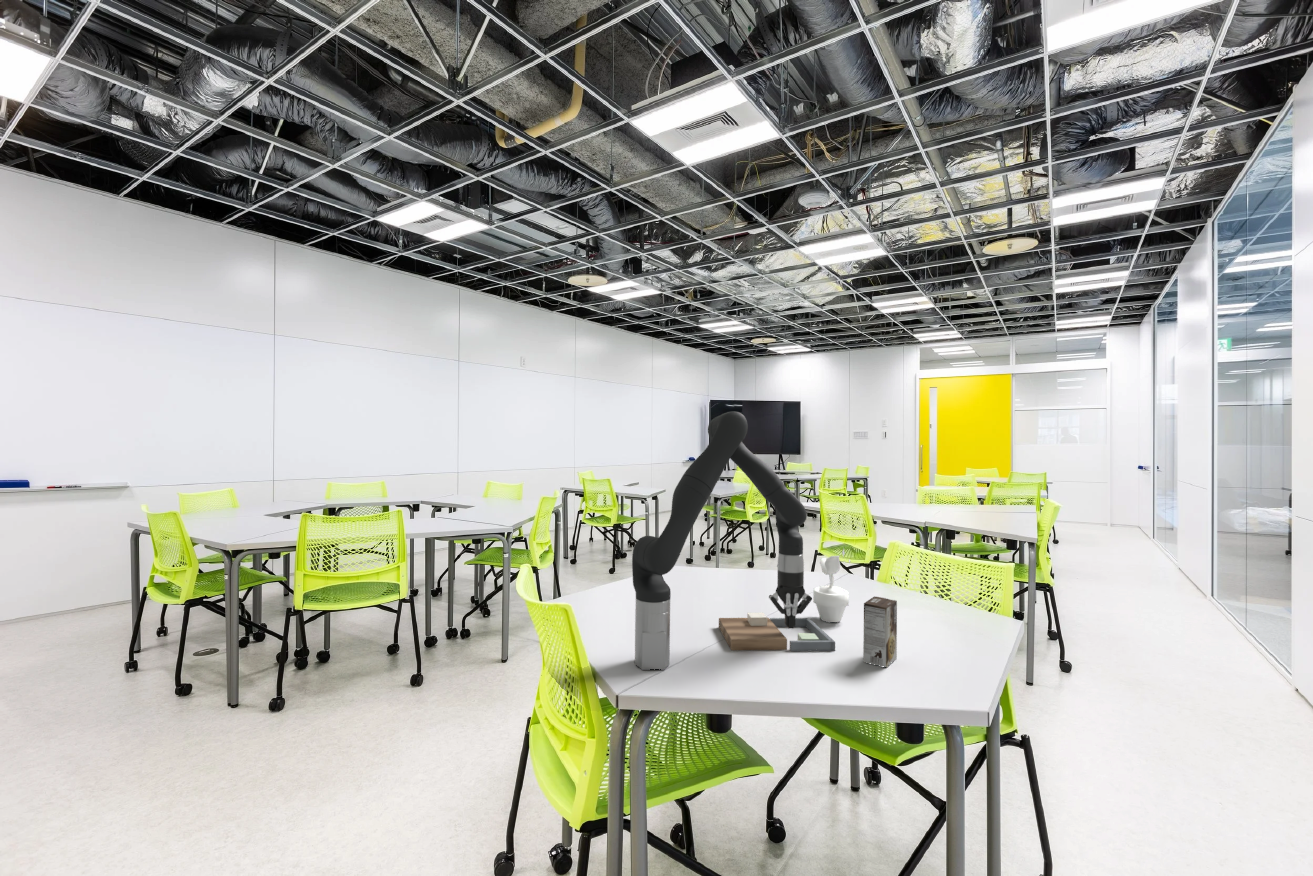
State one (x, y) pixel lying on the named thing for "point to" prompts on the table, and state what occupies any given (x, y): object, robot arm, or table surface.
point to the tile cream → (757, 619)
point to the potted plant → (831, 592)
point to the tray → (821, 645)
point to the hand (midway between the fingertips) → (790, 627)
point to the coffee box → (880, 631)
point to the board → (751, 635)
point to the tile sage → (807, 637)
